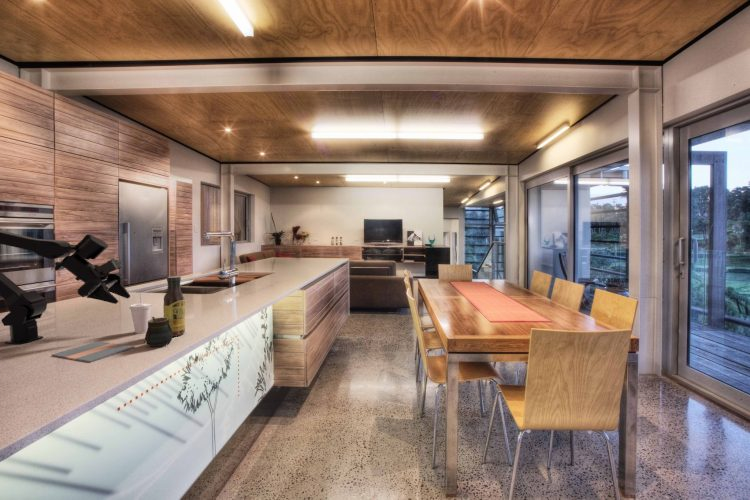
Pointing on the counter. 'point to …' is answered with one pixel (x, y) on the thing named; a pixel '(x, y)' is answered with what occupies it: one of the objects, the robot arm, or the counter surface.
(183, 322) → the sauce bottle
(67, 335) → the counter surface
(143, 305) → the smoothie
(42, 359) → the counter surface
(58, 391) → the counter surface
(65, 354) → the slate board
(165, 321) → the mate gourd
